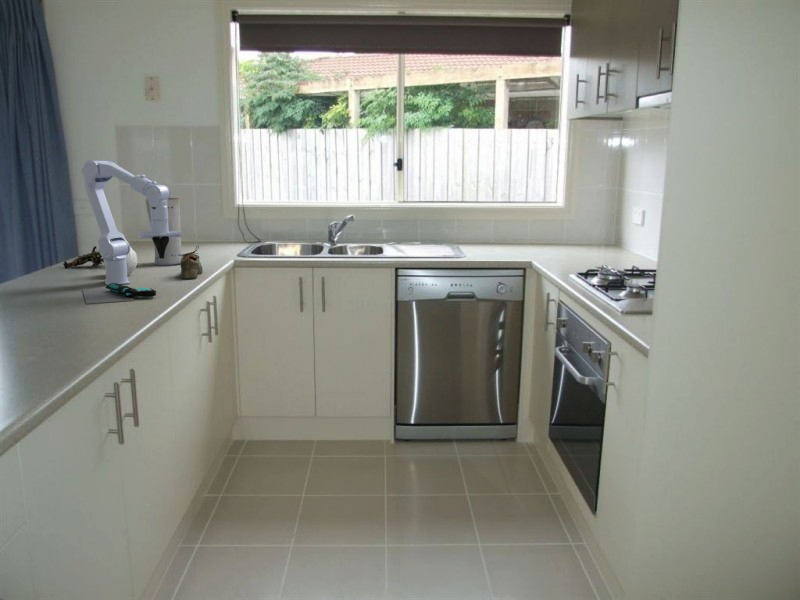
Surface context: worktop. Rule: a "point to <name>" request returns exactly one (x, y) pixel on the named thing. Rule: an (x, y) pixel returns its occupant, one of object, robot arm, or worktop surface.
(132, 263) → the decorative ball
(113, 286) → the toy gun
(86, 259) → the figurine
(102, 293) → the mat
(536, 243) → the worktop surface
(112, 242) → the robot arm
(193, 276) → the hiking shoe
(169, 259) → the vase
